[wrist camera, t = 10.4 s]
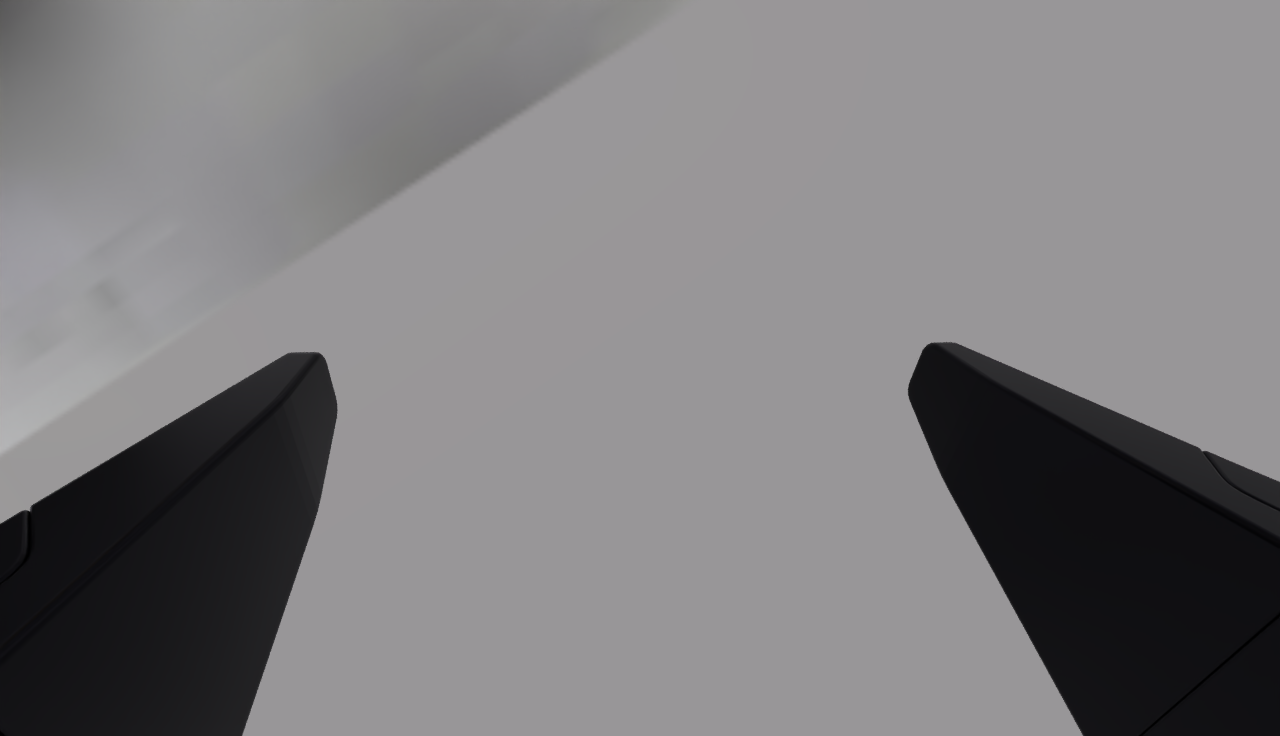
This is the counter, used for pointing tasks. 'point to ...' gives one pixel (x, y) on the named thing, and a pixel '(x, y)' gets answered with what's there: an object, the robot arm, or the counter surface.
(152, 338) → the counter surface
